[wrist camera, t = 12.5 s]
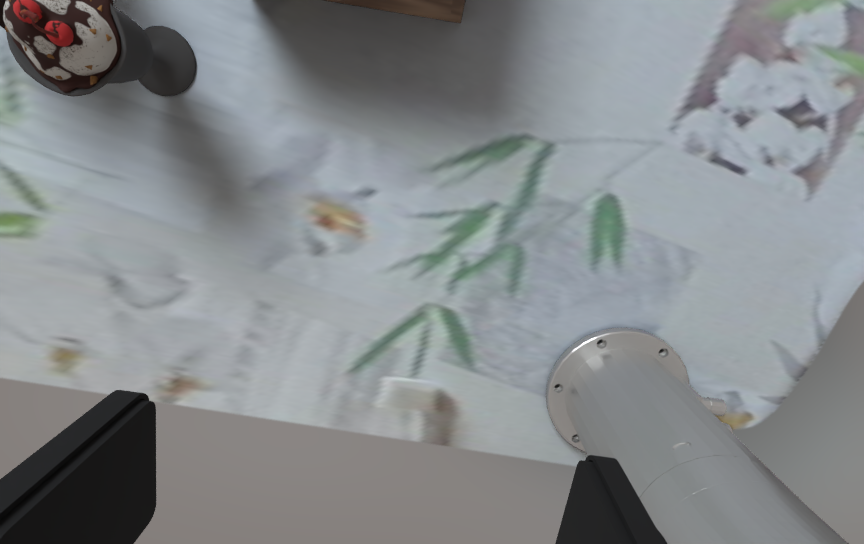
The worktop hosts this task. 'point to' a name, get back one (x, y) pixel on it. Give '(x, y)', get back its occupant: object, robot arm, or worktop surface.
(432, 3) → the brown slotted wooden box
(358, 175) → the worktop surface
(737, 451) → the robot arm
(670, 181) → the worktop surface
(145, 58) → the sundae
